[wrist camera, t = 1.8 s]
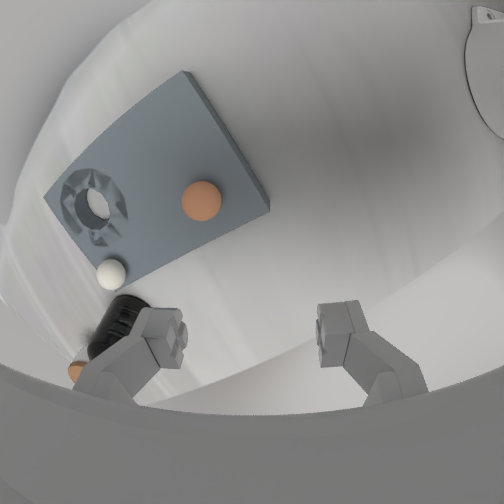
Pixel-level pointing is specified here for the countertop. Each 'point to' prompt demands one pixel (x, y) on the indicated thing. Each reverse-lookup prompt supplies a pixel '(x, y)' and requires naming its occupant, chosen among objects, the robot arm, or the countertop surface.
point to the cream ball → (111, 274)
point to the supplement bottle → (115, 324)
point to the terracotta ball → (201, 201)
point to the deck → (156, 182)
